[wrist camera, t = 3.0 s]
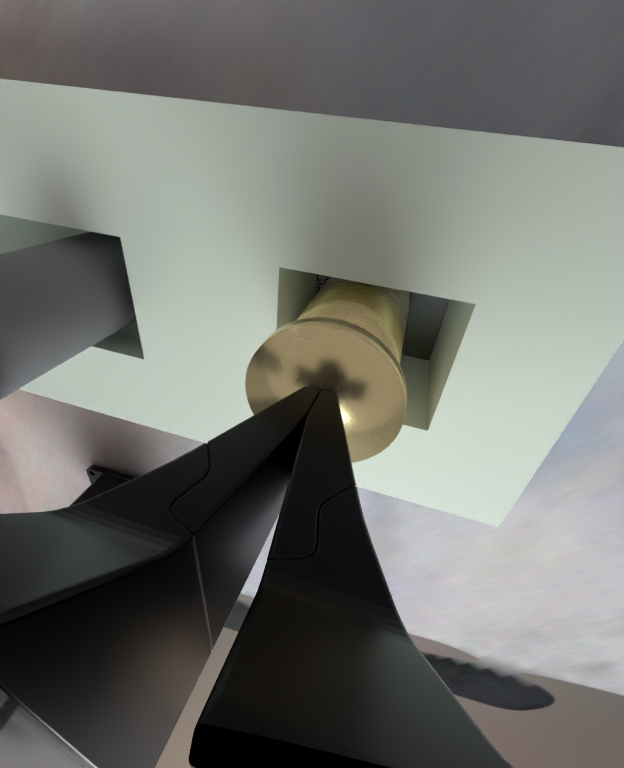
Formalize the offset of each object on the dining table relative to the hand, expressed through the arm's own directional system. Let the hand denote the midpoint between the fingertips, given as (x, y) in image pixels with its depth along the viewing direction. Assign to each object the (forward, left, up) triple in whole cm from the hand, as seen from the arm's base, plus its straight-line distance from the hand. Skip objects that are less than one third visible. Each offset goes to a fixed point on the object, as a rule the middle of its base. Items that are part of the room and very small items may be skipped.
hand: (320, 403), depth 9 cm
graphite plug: (0, +10, -5) cm, 11 cm away
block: (0, +5, -8) cm, 9 cm away
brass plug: (0, 0, -8) cm, 8 cm away
